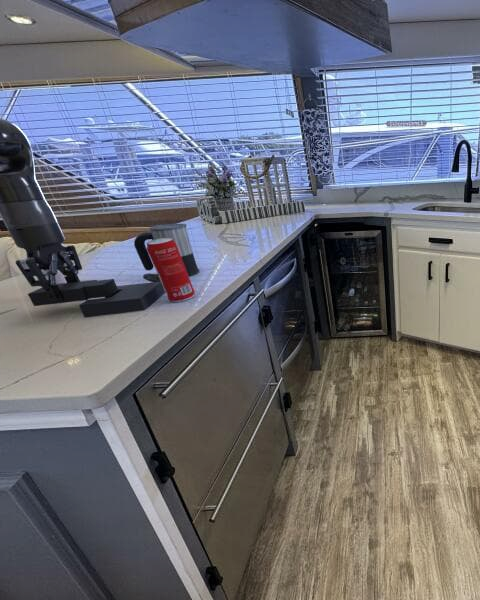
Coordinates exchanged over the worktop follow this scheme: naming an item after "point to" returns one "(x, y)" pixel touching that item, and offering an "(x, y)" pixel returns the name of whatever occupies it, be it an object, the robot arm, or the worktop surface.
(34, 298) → the pad
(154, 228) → the milk frother
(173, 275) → the beverage can
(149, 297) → the notch pad
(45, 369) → the worktop surface
